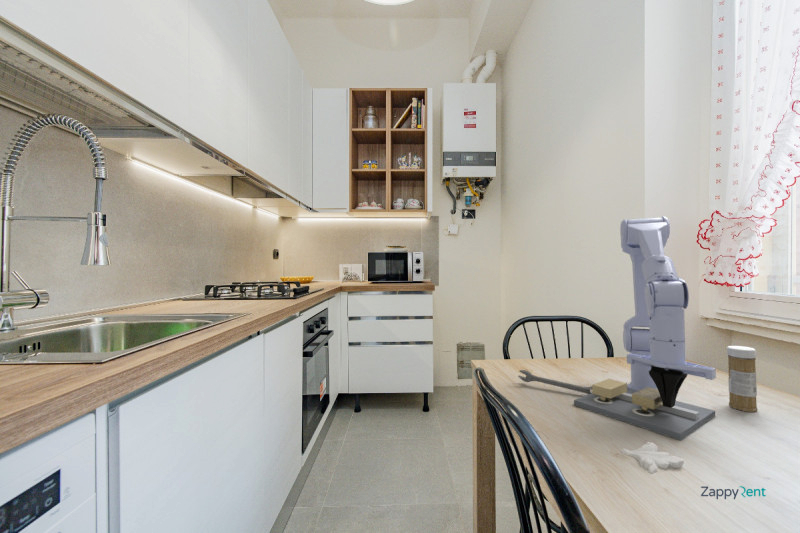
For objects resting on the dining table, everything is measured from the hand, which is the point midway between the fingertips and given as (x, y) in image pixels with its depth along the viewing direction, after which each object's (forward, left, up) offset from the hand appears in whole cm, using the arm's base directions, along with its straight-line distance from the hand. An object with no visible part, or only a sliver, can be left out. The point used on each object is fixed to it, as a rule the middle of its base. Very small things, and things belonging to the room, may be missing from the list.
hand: (668, 405), depth 70 cm
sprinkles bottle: (-20, +7, -3) cm, 21 cm away
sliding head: (0, -3, -1) cm, 3 cm away
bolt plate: (-1, -5, -3) cm, 6 cm away
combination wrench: (+1, -24, -3) cm, 24 cm away
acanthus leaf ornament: (+19, +4, -4) cm, 20 cm away
